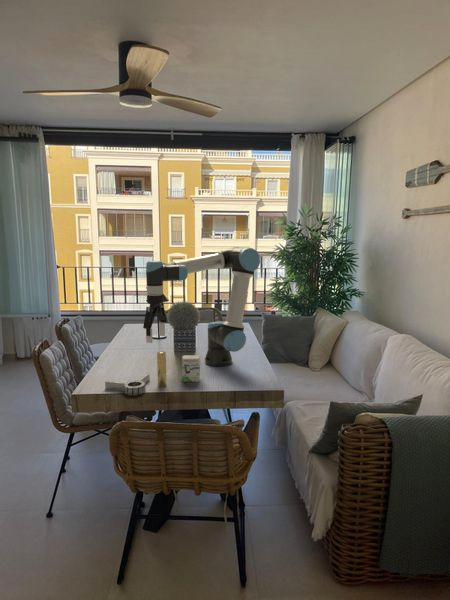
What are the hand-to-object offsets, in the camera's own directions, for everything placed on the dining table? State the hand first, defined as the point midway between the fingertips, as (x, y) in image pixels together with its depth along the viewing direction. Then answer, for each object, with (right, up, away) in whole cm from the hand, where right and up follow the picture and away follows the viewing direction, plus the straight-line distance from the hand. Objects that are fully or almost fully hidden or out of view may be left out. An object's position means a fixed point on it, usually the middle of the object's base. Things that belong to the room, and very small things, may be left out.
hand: (156, 339), depth 184 cm
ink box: (+16, -21, +7) cm, 27 cm away
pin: (+3, -22, 0) cm, 22 cm away
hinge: (-12, -22, -2) cm, 25 cm away
